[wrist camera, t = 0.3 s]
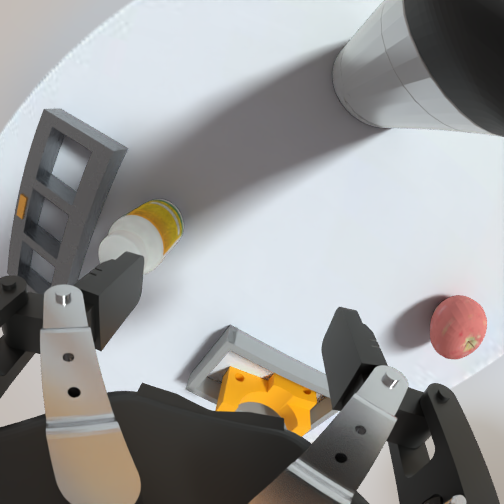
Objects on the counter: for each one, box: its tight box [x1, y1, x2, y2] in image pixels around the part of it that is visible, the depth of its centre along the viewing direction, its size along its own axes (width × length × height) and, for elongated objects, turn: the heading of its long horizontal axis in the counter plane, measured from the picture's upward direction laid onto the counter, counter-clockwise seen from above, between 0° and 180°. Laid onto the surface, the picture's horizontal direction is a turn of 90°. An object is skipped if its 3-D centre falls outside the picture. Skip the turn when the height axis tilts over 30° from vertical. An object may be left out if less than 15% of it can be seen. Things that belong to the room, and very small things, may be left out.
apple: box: [430, 295, 487, 359], centre depth 28 cm, size 7×7×8 cm
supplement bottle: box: [98, 199, 184, 275], centre depth 26 cm, size 5×5×10 cm
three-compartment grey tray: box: [7, 109, 128, 295], centre depth 30 cm, size 24×11×3 cm, turn 147°
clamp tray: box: [186, 325, 338, 435], centre depth 36 cm, size 11×19×3 cm, turn 57°
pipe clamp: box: [216, 366, 317, 437], centre depth 35 cm, size 12×4×6 cm, turn 65°
